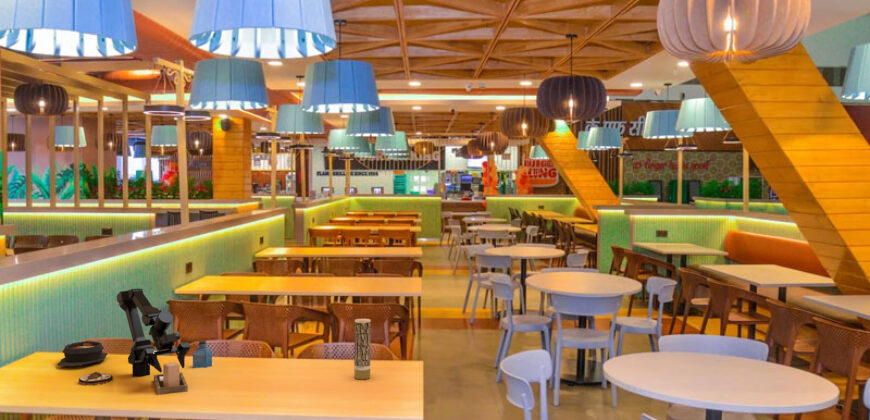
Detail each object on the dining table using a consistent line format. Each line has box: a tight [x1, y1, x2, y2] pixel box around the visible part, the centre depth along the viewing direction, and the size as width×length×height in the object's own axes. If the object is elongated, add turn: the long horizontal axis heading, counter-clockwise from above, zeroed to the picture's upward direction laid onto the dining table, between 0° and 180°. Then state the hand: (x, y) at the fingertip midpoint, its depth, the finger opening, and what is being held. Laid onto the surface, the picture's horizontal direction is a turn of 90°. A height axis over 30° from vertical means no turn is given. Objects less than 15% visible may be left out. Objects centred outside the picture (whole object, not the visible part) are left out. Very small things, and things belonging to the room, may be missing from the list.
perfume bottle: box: [192, 339, 213, 369], centre depth 317 cm, size 6×6×12 cm
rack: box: [153, 371, 189, 396], centre depth 285 cm, size 21×11×3 cm, turn 25°
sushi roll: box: [78, 371, 113, 386], centre depth 293 cm, size 15×15×4 cm
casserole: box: [57, 340, 108, 367], centre depth 322 cm, size 25×19×8 cm
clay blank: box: [162, 362, 180, 387], centre depth 280 cm, size 4×4×10 cm
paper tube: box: [353, 318, 372, 381], centre depth 303 cm, size 7×7×25 cm
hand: (172, 369), depth 280 cm, fingers open, 9 cm apart
